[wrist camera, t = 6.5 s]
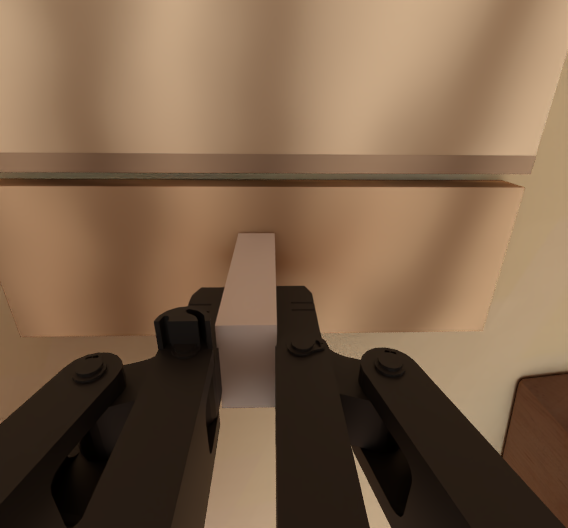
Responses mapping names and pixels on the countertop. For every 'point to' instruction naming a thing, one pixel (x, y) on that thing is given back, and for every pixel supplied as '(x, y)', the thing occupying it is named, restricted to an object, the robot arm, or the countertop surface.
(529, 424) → the wooden block
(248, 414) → the countertop surface
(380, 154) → the laid board
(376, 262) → the board
